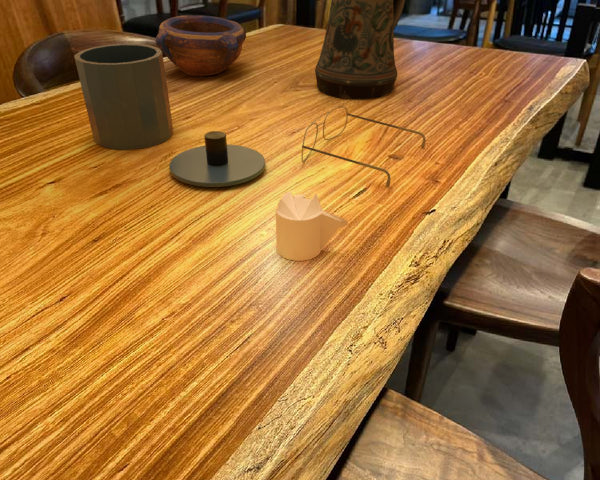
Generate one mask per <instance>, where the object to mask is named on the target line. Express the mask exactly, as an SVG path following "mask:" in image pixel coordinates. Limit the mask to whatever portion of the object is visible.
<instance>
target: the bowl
mask: <svg viewBox="0 0 600 480" xmlns="http://www.w3.org/2000/svg"><path fill="white" fill-rule="evenodd" d="M246 38H247V32H246V29H245V28H244V27H243V26H242V25H241V24H240V23H238V22H237V21H233V20H230V19H227V18H224V17H218V16H212V15H211V16H210V15H178V16H173V17H170V18H167V19H165V20H164V21H163V22H161V23H160V25H159V27H158V33H157V35H156V37H155V44H156V46H157V48H160V50H161V51H162V54H164V56H165V57H166V58H167V59H168V60H169V61H170V62H171V63H172V64H174V66H175V67H177V68H178V69H179V70H180V71H182V72H183V73H185V74H186V75H189V76H192V77H205V76H212V75H213V76H214V75H217V74H220V73H222V72H223V71H226V69H227V68H228V67H230V66H231V65H233V64H234V63H235V62H236V61H237V59H238V58H240V55H241V53H242V49H243V43H244V42H245V41H246Z"/></svg>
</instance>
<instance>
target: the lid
mask: <svg viewBox="0 0 600 480" xmlns="http://www.w3.org/2000/svg"><path fill="white" fill-rule="evenodd" d="M227 140H228V139H227V134H226V133H225V132H224V131H220V130H219V131H218V130H213V131H208V132H206V133H205V134H204V144H205V145H201V146H196V147H192V148H188V149H185V150H184V151H181V152H180V153H177V154H176V155H175V156H174V157H172V159H171V160H170V162H169V165H168V166H169V173H170V174H171V176H173V178H175V179H176V180H178V181H179V182H181V183H184V184H188V185H191V186H196V187H204V188H220V187H221V188H222V187H230V186H236V185H239V184H243V183H247V182H249V181H251V180H253V179H255V178H257V177H259V176H260V175H261V174H262V173H263V172H264V171H265V168H266V158H265V157H264V156H263V154H261V153H260V152H259V151H257V150H255V149H253V148H250V147H247V146H243V145H238V144H237V145H236V144H228V141H227Z"/></svg>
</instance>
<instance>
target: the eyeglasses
mask: <svg viewBox="0 0 600 480" xmlns="http://www.w3.org/2000/svg"><path fill="white" fill-rule="evenodd" d="M339 108H343V109H345V112H346V117H345V124H344V126H343V128H342V129H341V131H340V132H339V133H337V134H336V135H334V136H332V137H329V138H326V137H325V130H326V127H327V126H326V125H325V124H326V120H327V118H328V117H329V115H330V114H331V113H332V112H334V111H335V110H337V109H339ZM325 115H326V116H325ZM324 116H325V117H324ZM322 117H324V120H323V122H320V123H319V124H318V123H317V122H316V121H318V120H319V119H321V118H322ZM349 117H352V118H356V119H359V120H363V121H367V122H371V123H374V124H379V125H382V126H386V127H389V128H394V129H397V130H401V131H404V132H405V131H406V132H409V133H413V134H416V135H419V136H421V137H422V142H421V146H420V147H421V148H422V149H424V148H425V147H426V141H427V140H426V139H427V138H426V135H425V134H424V133H423V132H421V131H418V130H415V129H410V128H407V127H402V126H399V125H398V126H397V125H394V124H390V123H386V122H382V121H379V120H375V119H371V118H367V117H363V116H359V115H356V114H353V113H349V112H348V109H347V107H346V106H344V105H339V106H337V107H335V108H333V109H331V110H330V111H326V112H324V114H322V115H320V116H319V117H318V118H315V120H313V121H311V123H310V124H309V125H308V126H307V127H306V129H305V131H304V135H303V140H302V145H301V163H305V161H307V159H308V158H309V156H310V155H311V154H312V152H315V153H319V154H322V155H326V156H329V157H333V158H336V159H339V160H343V161H347V162H350V163H353V164H357V165H359V166H362V167H366V168H370V169H372V170H376V171H379V172H383V173H384V174H386V176H387V179H386V182H385V186H386V187H388V188H389V187H390V186H391V180H392V178H391V174H390V172H389V171H388V170H387V169H385V168H383V167H379V166H375V165H372V164H369V163H365V162H362V161H357V160H354V159H352V158H351V159H350V158H346V157H343V156H340V155H337V154H334V153H330V152H326V151H323V150H320V149H317V148H315V146H316V143H317V139H318V134H319V126H321V125H322V138H323V140H325V141H331V140H332V139H334V138H336V137H338V136H340V135H341V134H342V133H343V132H344V131H345V129H346V127H347V124H348V119H349ZM313 125H316V126H315V129H316V134H315V138H314V143H313V145H312V147H310V146H306V145H305V141H306V136H307V132H308V130H309V129H310V128H311V127H312V126H313ZM304 149H305V150H308V151H309V153H308V154H307V155H306V156H305V158H304Z"/></svg>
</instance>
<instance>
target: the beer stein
mask: <svg viewBox="0 0 600 480" xmlns="http://www.w3.org/2000/svg"><path fill="white" fill-rule="evenodd" d="M405 5H406V0H330V8H329V13H328V18H327V25H326V29H325V33H324V38H323V43H322V47H321V51H320V55H319V58H318V61H317V63H316V65H315V68H314V72H315V78H316V86H317V89H318V91H320V92H321V93H323V94H325V95H326V96H329V97H330V96H331V97H334V98H338V99H342V100H343V99H344V100H371V99H378V98H383V97H385V96H388V95H390V94H392V92H393V91H394V87H395V83H396V81H397V78H398V69H397V65H396V61H395V45H394V44H395V33H394V31H395V29H396V27H397V25H398V23H399V21H400V19H401V16H402V14H403V10H404V7H405Z"/></svg>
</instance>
